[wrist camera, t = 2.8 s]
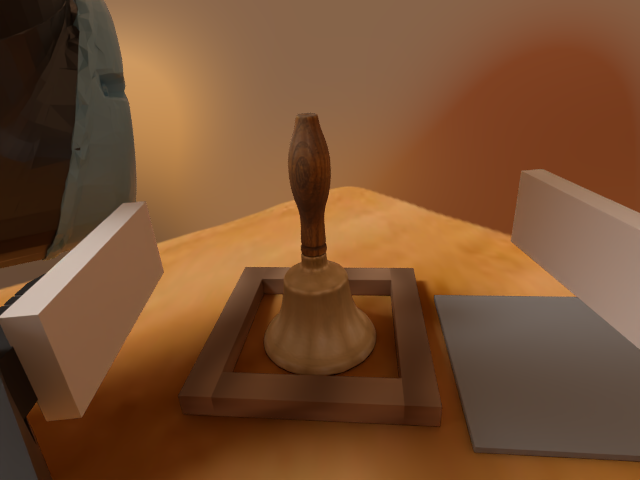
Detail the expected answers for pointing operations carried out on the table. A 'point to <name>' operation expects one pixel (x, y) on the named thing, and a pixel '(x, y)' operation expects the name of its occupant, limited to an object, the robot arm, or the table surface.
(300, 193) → the hand bell
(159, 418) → the table surface
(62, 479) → the table surface
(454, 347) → the rubber mat
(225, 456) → the table surface
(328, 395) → the square frame
